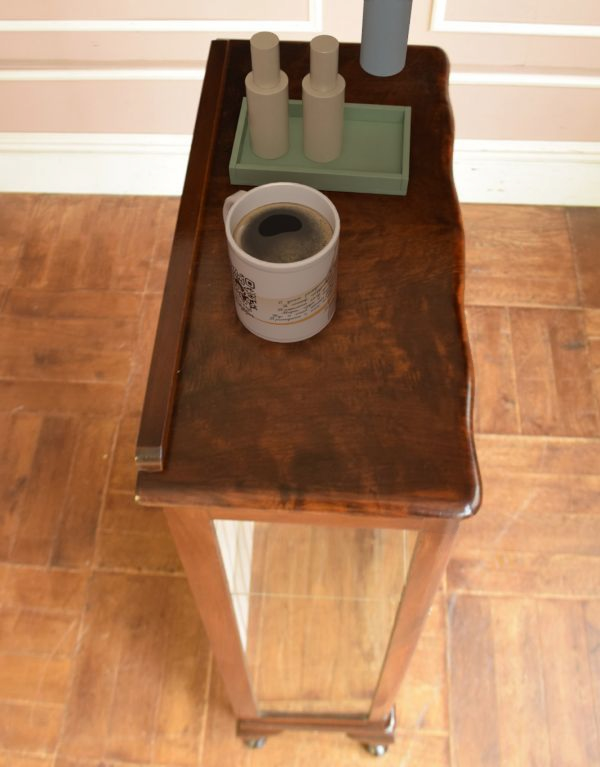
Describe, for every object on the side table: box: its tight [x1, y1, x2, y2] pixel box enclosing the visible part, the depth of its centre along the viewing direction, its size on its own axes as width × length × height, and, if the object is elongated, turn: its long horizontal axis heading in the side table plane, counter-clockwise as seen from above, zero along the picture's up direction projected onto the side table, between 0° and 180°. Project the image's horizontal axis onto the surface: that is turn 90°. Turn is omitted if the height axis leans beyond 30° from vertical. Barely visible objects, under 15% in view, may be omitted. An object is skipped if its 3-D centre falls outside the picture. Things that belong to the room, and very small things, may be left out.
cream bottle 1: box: [244, 31, 290, 159], centre depth 80 cm, size 4×4×13 cm
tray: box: [228, 96, 412, 196], centre depth 85 cm, size 19×11×2 cm, turn 84°
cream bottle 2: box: [301, 34, 346, 163], centre depth 80 cm, size 4×4×13 cm
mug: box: [222, 182, 341, 344], centre depth 71 cm, size 10×12×11 cm
